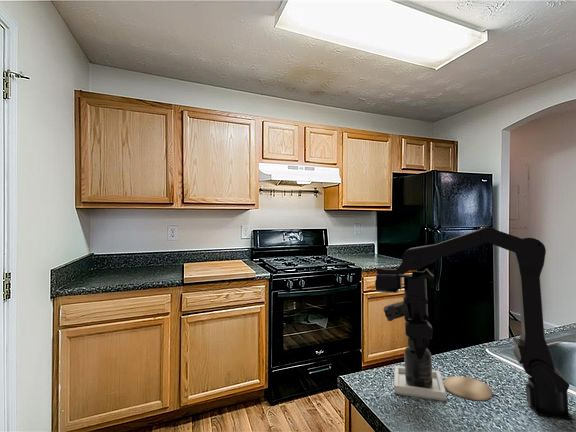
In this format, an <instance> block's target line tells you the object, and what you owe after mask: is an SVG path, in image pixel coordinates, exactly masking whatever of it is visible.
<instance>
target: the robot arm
mask: <svg viewBox="0 0 576 432" xmlns="http://www.w3.org/2000/svg"><path fill="white" fill-rule="evenodd" d="M485 244H491V245H494V246H496V247H499V248H501V249H504V250H506V251H509V254H510V258H511V261H512V263H513V266H514V269H515V272H516V274H517V286H518V297H519V299H518V300H519V313H520V324H521V325H520V326H521V329H520V330H521V333H520V335H519V338H517V337H512V341H513V345H514V349H513V352H512V353H513V355H514V357H515V358H516V360H517V362H518V363H519V365H521V366H522V368H523V370H524V372H525V373H526V374H527V375H528V376H529V377H527V383H526V384H525V394H526V395H525V396H526V398H525V399H526V402H527V403H528V405H529V406H530V407H531V408H532V410H533V411H534V412H535V414H536V415H539V416H545V417H550V418H559V419H563V420H570V421H571V420H574V418H573V416H572V414H571V413H569V401H568V399H569V398H568V397H569V396H568V390H569V387H570V383H569V382H568V381H567V379H565V377H564V376H563V375H562V374H561V373H560V372H559V370H558V369H557V368H556V367H555V365H554V361H553V357H552V354H551V352H550V349H549V346H548V343H547V341H546V339H545V329H544V326H545V325H544V315H543V314H544V313H543V302H542V301H543V300H542V291H541V290H542V289H541V274H542V272H543V268H544V265H545V259H546V251H547V249H546V245H544V243H543V242H541V240H540V239H536V238H534V237H528V236H527V237H526V236H515V235H512V234H510V233H506V232H504V231H500V230H497V229H496V228H494V227H492V226H483V227H479V229H476V230H474V231H471V232H467V233H465V234H462V235H459V236H457V237H453V238H450V239H448V240H444V241H440V242H439V243H435V244H428V245H421V246H416V247H411V248H408V249H407V250H406V251H404V252H403V254H402V256H401V261H402V262H401V263H400V264H399V265H398V266H397V267H396V268H384V267H377V269H376V275H375V281H374V282H375V283H374V287H375V290H376V292H377V293H389V294H390V293H393V294H398V293H399V290H402V289H404V292H403V293H404V296H403V300H402V301H398V302H395V303H391V304H388V305H385V306H384V307H383V313H384V314H385V315H384V316H385V317H386V319H387V322H392V321H393V320H397V319H400V318H402V317H404V321H405V322H404V325H405V326H404V327H405V335H406V337H407V338H408V337H409V338H411V339H412V341H413V344H414V348H415V352H416V356H417V359H422V358H423V355H424V353H425V351H426V349H428V346H429V344H430V342H431V340H432V339H433V337H434V332H433V331H434V330H433V326H432V324H431V323H430V322H429V320H430V316H429V311H428V310H429V308H428V305H429V300H428V290H427V288H428V287H427V280H429V279H430V280H431V279H434V274H433V273H431V272H430V271H429V268H425V269H424V270H423V271H419V270H421V269H423V268H424V267H426V266H428V265H430V264H432V263H434V262H435V261H438V260H439V259H441V258H445V257H447V256H450V255H453V254H456V253H460V252H463V251H466V250H470V249H472V248H476V247H479V246H482V245H485ZM410 271H411V273H410V274H408V272H410ZM406 273H407V274H406Z"/></svg>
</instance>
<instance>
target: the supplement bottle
mask: <svg viewBox="0 0 576 432" xmlns="http://www.w3.org/2000/svg"><path fill="white" fill-rule="evenodd" d="M406 344H407V347H405V349H404V351H403V353H404V354H403V355H404V356H403V357H404V367H405V380H406V383H407V384H408V385H409V386H414V387H421V388H428V389H430V388H431V387H432V385H433V379H432V370H433V364H432V363H433V362H432V353H431V352H430V349H428V348H426V351H425V353H424V355H423V358H422V359H417V356H416V352H415V348H414V344H413V341H412V339H411V338H409V337H408V336H407V343H406Z"/></svg>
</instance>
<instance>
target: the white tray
mask: <svg viewBox="0 0 576 432" xmlns="http://www.w3.org/2000/svg"><path fill="white" fill-rule="evenodd" d="M432 379H433V385H432V387H431V388H430V389H428V388H421V387H414V386H409V385H408V384H407V383H406V380H405V366H401V365H400V366H399V365H394V378H393V380H394V381H393V386H394V387H393V389H394V390H393V391H394V393H393V394H396V395H400V396H401V395H402V396H408V397H409V396H410V397H416V398H423V399H428V400H435V401H443V402H447V392H446V388H445V387H444V380H443V378H442V375H441V371H440V370H435V369H432Z"/></svg>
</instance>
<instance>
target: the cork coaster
mask: <svg viewBox="0 0 576 432" xmlns="http://www.w3.org/2000/svg"><path fill="white" fill-rule="evenodd" d="M443 385H444V388H445V390H447V392H449V393H450V394H452V395H454V396H457V397H459V398H462V399H466V400H468V401H469V400H470V401H487V400H489V399H491V398H492V396H493V389H492V388H491V387H490V386H489V385H488V384H486V383H485V382H482V381H480V380H477V379H475V378H471V377H467V376H456V375H455V376H448V377H446V378H445V379H444V380H443Z"/></svg>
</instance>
